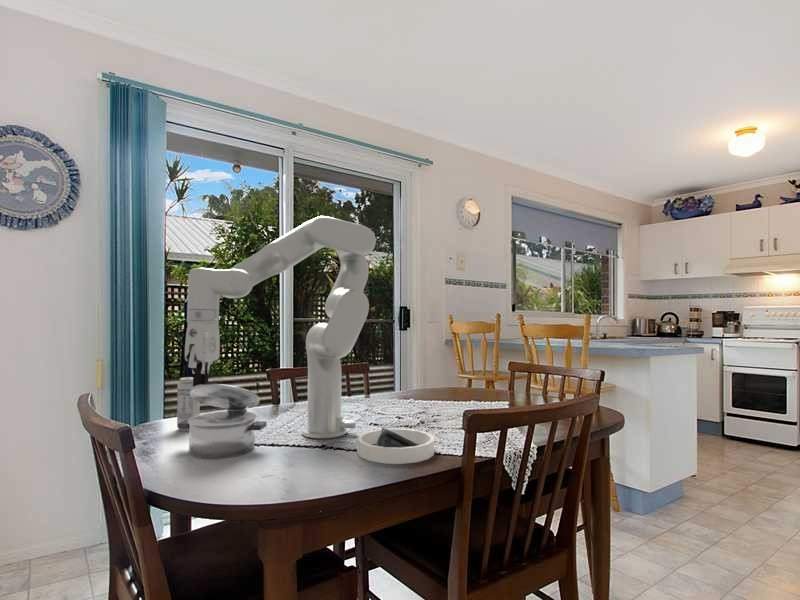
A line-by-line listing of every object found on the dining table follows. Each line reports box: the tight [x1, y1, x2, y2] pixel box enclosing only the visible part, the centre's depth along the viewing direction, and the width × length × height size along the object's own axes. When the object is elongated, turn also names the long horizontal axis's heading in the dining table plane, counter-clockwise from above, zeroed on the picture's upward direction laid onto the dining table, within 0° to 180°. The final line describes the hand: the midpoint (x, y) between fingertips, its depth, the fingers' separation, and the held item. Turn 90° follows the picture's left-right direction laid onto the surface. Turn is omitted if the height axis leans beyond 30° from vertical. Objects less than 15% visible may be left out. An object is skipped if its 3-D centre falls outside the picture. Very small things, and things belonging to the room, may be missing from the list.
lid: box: [190, 383, 260, 412], centre depth 128 cm, size 17×18×4 cm
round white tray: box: [356, 427, 435, 465], centre depth 124 cm, size 19×19×4 cm
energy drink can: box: [176, 376, 201, 432], centre depth 147 cm, size 6×6×15 cm
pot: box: [177, 410, 267, 460], centre depth 127 cm, size 21×18×8 cm
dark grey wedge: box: [375, 427, 419, 448], centre depth 122 cm, size 10×7×12 cm
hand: (200, 389), depth 126 cm, fingers closed
